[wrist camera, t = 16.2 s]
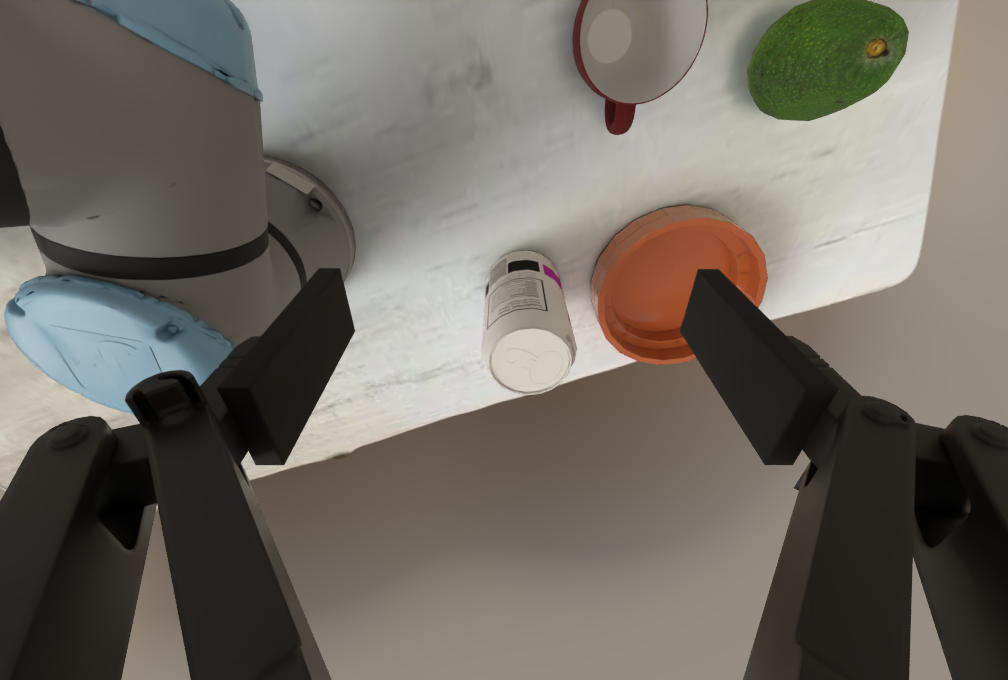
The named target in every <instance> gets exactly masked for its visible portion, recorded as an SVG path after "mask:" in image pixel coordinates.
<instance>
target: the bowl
mask: <svg viewBox="0 0 1008 680" xmlns="http://www.w3.org/2000/svg"><path fill="white" fill-rule="evenodd" d="M698 269H719V270H720V271H721V272H722V273H723V274H724V275H725V276H726V277H727V278H728V279H729V280H730V281H731V282H732V283H733V284H734V285H735V286H736V287H737V288H738V289H739V290H740V291H741V292H742V293H743V294H744V295H745V296H746V297H747V298H748V299H749V300H750V301H751V302H752V303H753V304H754V305H755V306H756V307H757V308H758V307H759V305H760V304H761V302H762V299H763V295H764V291H765V287H766V283H767V279H768V277H767V269H766V262H765V256H764V253H763V252H762V250H761V249H760V247H759V246H758V244H757V242H756V241H755V239H754V238H753V236H752V235H750V234H749V233H748V232H746V231H745V230H743V229H742V228H741V227H739V226H738V225H737V224H735V223H734V222H732V221H731V220H729V219H728V218H726V217H725V216H723V215H721V214H720V213H718V212H717V211H715V210H713V209H708V208H703V207H698V206H692V205H683V206H676V207H668V208H662V209H659V210H657V211H655V212H652V213H650V214H648V215H646V216H643V217H641V218H639V219H636V220H634V221H633V222H632V223H631V224H629V225H628V226H627V227H626V228H625V229H623V230H622V231H621V232H620V233H618V234H617V235H616V236H615V237H614V238H613V239H612V240H611V242H610V243H609V245H608V246H607V247H606V249H605V250H604V252H603V253H602V254H601V256H600V257H599V259H598V262H597V265H596V268H595V271H594V274H593V277H592V280H591V298H592V304H593V307H594V310H595V313H596V315H597V318H598V321H599V323H600V326H601V328H602V330H603V333H604V335H605V338H606V339H607V340H608V341H609V342H610V343H611V344H612V345H613V346H614V347H615V348H616V349H617V350H618V351H619V352H620V353H622V354H624V355H626V356H628V357H630V358H632V359H635V360H637V361H639V362H645V363H652V364H659V365H664V364H674V363H683V362H687V361H690V360H693V359H695V358H696V356H695V355H694V353H693V352H692V350H691V349H690V347H689V345H688V344H687V342H686V341H685V339H684V338H683V336H682V334H681V333H680V329H681V326H682V322H683V319H684V315H685V312H686V308H687V305H688V301H689V298H690V295H691V291H692V288H693V284H694V281H695V277H696V274H697V271H698Z"/></svg>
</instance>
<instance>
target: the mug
mask: <svg viewBox="0 0 1008 680" xmlns="http://www.w3.org/2000/svg"><path fill="white" fill-rule="evenodd" d="M707 18H708V5H707V0H582V1H581V3H580V6H579V8H578V11H577V14H576V18H575V22H574V28H573V53H574V58H575V62H576V65H577V68H578V70H579V73H580V75H581V76H582V78H583V80H584V81H585V83H586V84H587V85H588V86H589V87H590V88H591V89H592V90H593V91H594V92H595V93H597V94H598V95H600V96H601V97H603V98H605V99H606V101H605V122H606V127H607V129H608V131H609V132H610V133H611V134H614V135H620V134H624V133H626V132H627V131H628V130H629V128H630V127H631V125H632V122H633V119H634V114H635V107H636V104H642V103H646V102H649V101H652V100H654V99H657V98H659V97H660V96H662V95H664V94H665V93H667V92H668V91H669V90H671V89H672V88H673V87H674V86H675V85H677V84H678V83H679V81H680V80H681V79H682V78H683V77H684V76H685V75H686V73H687V72H688V71H689V69H690V68H691V66H692V64H693V63H694V61H695V59H696V57H697V55H698V53H699V51H700V48H701V46H702V43H703V40H704V36H705V32H706V26H707Z"/></svg>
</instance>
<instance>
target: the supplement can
mask: <svg viewBox="0 0 1008 680" xmlns="http://www.w3.org/2000/svg"><path fill="white" fill-rule="evenodd" d="M576 350H577V347H576V343H575V339H574V335H573V331H572V327H571V323H570V319H569V315H568V311H567V307H566V303H565V299H564V295H563V291H562V287H561V283H560V279H559V275H558V271H557V269H556V268H555V266H554V265H553V264H552V262H551V261H550V260H549V259H547V258H546V257H544V256H543V255H541V254H539V253H535V252H531V251H517V252H512V253H509V254H507V255H505V256H503V257H501V258H500V259H499V260H498V261H497V262H496V263H495V264H494V265H493V266H492V267H491V269H490V272H489V274H488V276H487V282H486V296H485V310H484V324H483V339H482V359H483V362H484V364H485V367H486V369H487V370H488V372H489V373H490V374H491V375H492V378H493V379H494V380H495V381H496V382H497V383H498V384H499V385H500V386H501V387H502V388H504V389H506V390H508V391H510V392H513V393H518V394H523V395H532V394H541V393H543V392H546V391H549V390H551V389H553V388H555V387H556V386H557V385H559V384H560V383H561V382H563V381H564V379H565V378H566V376H567V375H568V373H569V372H570V367H571V366H572V364H573V363H574V360H575V355H576Z"/></svg>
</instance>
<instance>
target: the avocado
mask: <svg viewBox="0 0 1008 680" xmlns="http://www.w3.org/2000/svg"><path fill="white" fill-rule="evenodd" d="M908 34H909V31H908V29H907V26H906V24H905V22H904V19H903V18H902V17H901V16H900V15H898V14H897V13H896V12H894V11H893V10H892V9H891V8H889V7H886V6H883V5H880V4H877V3H874V2H871V1H868V0H811V1H809V2H806V3H803V4H801V5H798V6H796V7H794V8H793V9H792V10H790V11H789V12H788V13H787V14H785V15H784V16H783V17H781V18H780V19H779V20H778V21H776V22H775V23H774V24H772V26H771V27H770V28H769V29H768V30H767V32H766V33H765V34H764V36H763V37H762V39H761V40H760V42H759V44H758V45H757V47H756V49H755V50H754V52H753V55H752V58H751V61H750V64H749V67H748V70H747V75H748V88H749V91H750V93H751V95H752V97H753V99H754V101H755V103H756V105H757V106H758V108H759V109H760V110H761V111H762V112H763V113H765V114H767V115H770V116H772V117H774V118H777V119H782V120H799V121H810V120H814V119H817V118H820V117H823V116H827V115H829V114H832V113H834V112H837V111H840V110H842V109H845V108H847V107H849V106H850V105H852V104H854V103H856V102H858V101H860V100H862V99H864V98H866V97H868V96H870V95H871V94H873V93H874V92H876V91H877V90H878V89H879V88H881V87H882V86H883V85H884V84H885V83H886V82H887V81H888V80H889V79H890V77H891V76H892V74H893V72H894V71H895V69H896V68H897V66H898V65H899V63H900V61H901V60H902V58H903V57H904V55H905V52H906V46H907V40H908Z"/></svg>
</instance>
